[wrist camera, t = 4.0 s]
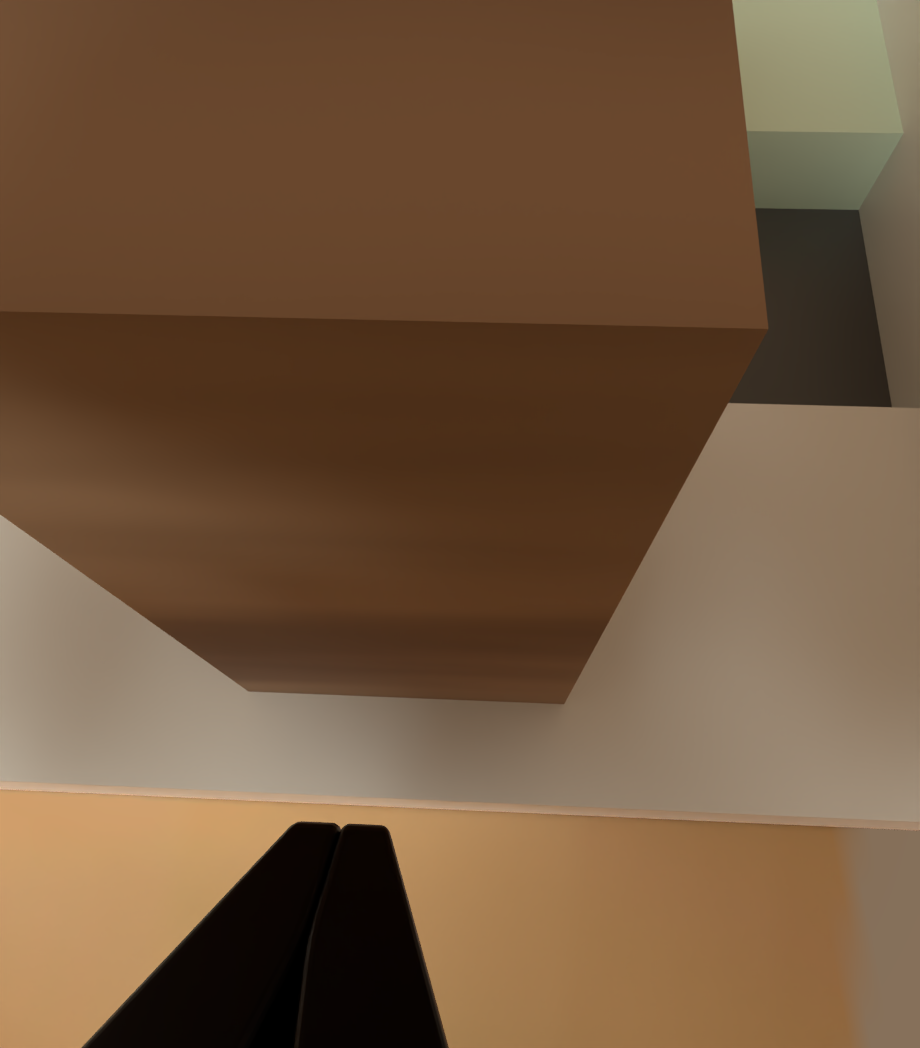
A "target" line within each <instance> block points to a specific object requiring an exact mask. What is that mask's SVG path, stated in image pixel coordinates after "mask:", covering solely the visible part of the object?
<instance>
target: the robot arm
mask: <svg viewBox="0 0 920 1048" xmlns="http://www.w3.org/2000/svg"><path fill="white" fill-rule="evenodd" d="M82 1048H449V1047H448V1044H447V1040H446V1036H445V1033H444V1029H443V1025H442V1022H441V1018H440V1014H439V1011H438V1007H437V1003H436V1000H435V996H434V992H433V989H432V985H431V981H430V978H429V974H428V970H427V967H426V963H425V959H424V956H423V952H422V948H421V945H420V941H419V938H418V934H417V930H416V927H415V923H414V919H413V916H412V912H411V908H410V905H409V901H408V897H407V894H406V890H405V886H404V883H403V879H402V875H401V872H400V868H399V864H398V861H397V857H396V853H395V850H394V846H393V842H392V839H391V835H390V832H389V830H388V829H387V828H386V827H385V826H382V825H365V824H347V825H345V826H344V827H343V828H342V829H341V828H340V827H339V826H338V825H337V824H335V823H322V822H297V823H295V824H293V825H292V826H290V827H289V828H288V829H287V830H286V831H285V832H284V834H283V835H282V836H281V837H280V838H279V839H278V840H277V841H276V842H275V843H274V844H273V845H272V846H271V847H270V848H269V849H268V851H267V852H266V853H265V854H264V855H263V856H262V857H261V858H260V859H259V860H258V861H257V862H256V863H255V864H254V865H253V866H252V867H251V869H250V870H249V871H248V872H247V873H246V874H245V875H244V876H243V877H242V878H241V879H240V880H239V881H238V882H237V883H236V884H235V886H234V887H233V888H232V889H231V890H230V891H229V892H228V893H227V894H226V895H225V896H224V897H223V898H222V899H221V900H220V901H219V903H218V904H217V905H216V906H215V907H214V908H213V909H212V910H211V911H210V912H209V913H208V914H207V915H206V916H205V917H204V918H203V919H202V921H201V922H200V923H199V924H198V925H197V926H196V927H195V928H194V929H193V930H192V931H191V932H190V933H189V934H188V935H187V936H186V938H185V939H184V940H183V941H182V942H181V943H180V944H179V945H178V946H177V947H176V948H175V949H174V950H173V951H172V952H171V953H170V954H169V956H168V957H167V958H166V959H165V960H164V961H163V962H162V963H161V964H160V965H159V966H158V967H157V968H156V969H155V970H154V971H153V973H152V974H151V975H150V976H149V977H148V978H147V979H146V980H145V981H144V982H143V983H142V984H141V985H140V986H139V987H138V988H137V989H136V991H135V992H134V993H133V994H132V995H131V996H130V997H129V998H128V999H127V1000H126V1001H125V1002H124V1003H123V1004H122V1005H121V1006H120V1008H119V1009H118V1010H117V1011H116V1012H115V1013H114V1014H113V1015H112V1016H111V1017H110V1018H109V1019H108V1020H107V1021H106V1022H105V1023H104V1024H103V1026H102V1027H101V1028H100V1029H99V1030H98V1031H97V1032H96V1033H95V1034H94V1035H93V1036H92V1037H91V1038H90V1039H89V1040H88V1041H87V1043H86V1044H85V1045H84V1046H83V1047H82Z"/></svg>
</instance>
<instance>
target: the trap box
mask: <svg viewBox="0 0 920 1048" xmlns="http://www.w3.org/2000/svg"><path fill="white" fill-rule="evenodd" d="M732 3H733V12H734V21H735V30H736V39H737V48H738V58H739V67H740V76H741V85H742V94H743V103H744V112H745V121H746V130H747V139H748V148H749V157H750V166H751V175H752V184H753V193H754V202H755V211H756V220H757V230H758V239H759V248H760V257H761V266H762V275H763V284H764V293H765V302H766V311H767V320H768V331H767V333H766V334H765V336H764V338H763V340H762V342H761V344H760V345H759V347H758V349H757V351H756V353H755V355H754V356H753V358H752V360H751V362H750V364H749V366H748V367H747V369H746V371H745V373H744V375H743V377H742V378H741V380H740V382H739V384H738V386H737V388H736V389H735V391H734V393H733V395H732V397H731V399H730V401H729V402H728V404H727V406H726V408H725V410H724V412H723V413H722V415H721V417H720V419H719V421H718V423H717V424H716V426H715V428H714V430H713V432H712V434H711V435H710V437H709V439H708V441H707V443H706V445H705V446H704V448H703V450H702V452H701V454H700V456H699V457H698V459H697V461H696V463H695V465H694V467H693V468H692V470H691V472H690V474H689V476H688V478H687V479H686V481H685V483H684V485H683V487H682V489H681V490H680V492H679V494H678V496H677V498H676V500H675V501H674V503H673V505H672V507H671V509H670V511H669V513H668V514H667V516H666V518H665V520H664V522H663V524H662V525H661V527H660V529H659V531H658V533H657V535H656V536H655V538H654V540H653V542H652V544H651V546H650V547H649V549H648V551H647V553H646V555H645V557H644V558H643V560H642V562H641V564H640V566H639V568H638V569H637V571H636V573H635V575H634V577H633V579H632V580H631V582H630V584H629V586H628V588H627V590H626V591H625V593H624V595H623V597H622V599H621V601H620V602H619V604H618V606H617V608H616V610H615V612H614V613H613V615H612V617H611V619H610V621H609V623H608V624H607V626H606V628H605V630H604V632H603V634H602V636H601V637H600V639H599V641H598V643H597V645H596V647H595V648H594V650H593V652H592V654H591V656H590V658H589V659H588V661H587V663H586V665H585V667H584V669H583V670H582V672H581V674H580V676H579V678H578V680H577V681H576V683H575V685H574V687H573V689H572V691H571V692H570V694H569V696H568V698H567V700H566V702H565V703H564V704H547V703H522V702H497V701H472V700H447V699H422V698H397V697H372V696H347V695H322V694H297V693H273V692H248V691H247V690H246V689H244V688H243V687H241V686H240V685H239V684H237V683H236V682H234V681H233V680H232V679H230V678H229V677H227V676H226V675H225V674H223V673H222V672H220V671H219V670H218V669H216V668H215V667H213V666H212V665H211V664H209V663H208V662H206V661H205V660H204V659H202V658H201V657H199V656H198V655H196V654H195V653H194V652H192V651H191V650H189V649H188V648H187V647H185V646H184V645H182V644H181V643H180V642H178V641H177V640H175V639H174V638H173V637H171V636H170V635H168V634H167V633H166V632H164V631H163V630H161V629H160V628H159V627H157V626H156V625H154V624H153V623H152V622H150V621H149V620H147V619H146V618H145V617H143V616H142V615H140V614H139V613H138V612H136V611H135V610H133V609H132V608H131V607H129V606H128V605H126V604H125V603H124V602H122V601H121V600H119V599H118V598H117V597H115V596H114V595H112V594H111V593H110V592H108V591H107V590H105V589H104V588H102V587H101V586H100V585H98V584H97V583H95V582H94V581H93V580H91V579H90V578H88V577H87V576H86V575H84V574H83V573H81V572H80V571H79V570H77V569H76V568H74V567H73V566H72V565H70V564H69V563H67V562H66V561H65V560H63V559H62V558H60V557H59V556H58V555H56V554H55V553H53V552H52V551H51V550H49V549H48V548H46V547H45V546H44V545H42V544H41V543H39V542H38V541H37V540H35V539H34V538H32V537H31V536H30V535H28V534H27V533H25V532H24V531H23V530H21V529H20V528H18V527H17V526H16V525H14V524H13V523H11V522H10V521H9V520H7V519H6V518H4V517H3V516H1V515H0V789H7V790H29V791H51V792H73V793H95V794H118V795H140V796H162V797H184V798H206V799H229V800H251V801H273V802H295V803H317V804H340V805H362V806H384V807H406V808H428V809H450V810H473V811H495V812H517V813H539V814H561V815H584V816H606V817H628V818H650V819H672V820H695V821H717V822H739V823H761V824H783V825H806V826H828V827H850V828H874V829H894V830H895V829H896V830H916V831H918V830H919V831H920V0H732Z"/></svg>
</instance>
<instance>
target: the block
mask: <svg viewBox="0 0 920 1048" xmlns="http://www.w3.org/2000/svg"><path fill="white" fill-rule="evenodd" d="M767 331H768V320H767V311H766V302H765V293H764V284H763V275H762V266H761V257H760V248H759V239H758V230H757V220H756V211H755V202H754V193H753V184H752V175H751V166H750V157H749V148H748V139H747V130H746V121H745V112H744V103H743V94H742V85H741V76H740V67H739V58H738V48H737V39H736V30H735V21H734V12H733V3H732V0H0V515H1V516H3V517H4V518H6V519H7V520H9V521H10V522H11V523H13V524H14V525H16V526H17V527H18V528H20V529H21V530H23V531H24V532H25V533H27V534H28V535H30V536H31V537H32V538H34V539H35V540H37V541H38V542H39V543H41V544H42V545H44V546H45V547H46V548H48V549H49V550H51V551H52V552H53V553H55V554H56V555H58V556H59V557H60V558H62V559H63V560H65V561H66V562H67V563H69V564H70V565H72V566H73V567H74V568H76V569H77V570H79V571H80V572H81V573H83V574H84V575H86V576H87V577H88V578H90V579H91V580H93V581H94V582H95V583H97V584H98V585H100V586H101V587H102V588H104V589H105V590H107V591H108V592H110V593H111V594H112V595H114V596H115V597H117V598H118V599H119V600H121V601H122V602H124V603H125V604H126V605H128V606H129V607H131V608H132V609H133V610H135V611H136V612H138V613H139V614H140V615H142V616H143V617H145V618H146V619H147V620H149V621H150V622H152V623H153V624H154V625H156V626H157V627H159V628H160V629H161V630H163V631H164V632H166V633H167V634H168V635H170V636H171V637H173V638H174V639H175V640H177V641H178V642H180V643H181V644H182V645H184V646H185V647H187V648H188V649H189V650H191V651H192V652H194V653H195V654H196V655H198V656H199V657H201V658H202V659H204V660H205V661H206V662H208V663H209V664H211V665H212V666H213V667H215V668H216V669H218V670H219V671H220V672H222V673H223V674H225V675H226V676H227V677H229V678H230V679H232V680H233V681H234V682H236V683H237V684H239V685H240V686H241V687H243V688H244V689H246V690H247V691H248V692H273V693H297V694H322V695H347V696H372V697H397V698H422V699H447V700H472V701H497V702H522V703H547V704H564V703H565V702H566V700H567V698H568V696H569V694H570V692H571V691H572V689H573V687H574V685H575V683H576V681H577V680H578V678H579V676H580V674H581V672H582V670H583V669H584V667H585V665H586V663H587V661H588V659H589V658H590V656H591V654H592V652H593V650H594V648H595V647H596V645H597V643H598V641H599V639H600V637H601V636H602V634H603V632H604V630H605V628H606V626H607V624H608V623H609V621H610V619H611V617H612V615H613V613H614V612H615V610H616V608H617V606H618V604H619V602H620V601H621V599H622V597H623V595H624V593H625V591H626V590H627V588H628V586H629V584H630V582H631V580H632V579H633V577H634V575H635V573H636V571H637V569H638V568H639V566H640V564H641V562H642V560H643V558H644V557H645V555H646V553H647V551H648V549H649V547H650V546H651V544H652V542H653V540H654V538H655V536H656V535H657V533H658V531H659V529H660V527H661V525H662V524H663V522H664V520H665V518H666V516H667V514H668V513H669V511H670V509H671V507H672V505H673V503H674V501H675V500H676V498H677V496H678V494H679V492H680V490H681V489H682V487H683V485H684V483H685V481H686V479H687V478H688V476H689V474H690V472H691V470H692V468H693V467H694V465H695V463H696V461H697V459H698V457H699V456H700V454H701V452H702V450H703V448H704V446H705V445H706V443H707V441H708V439H709V437H710V435H711V434H712V432H713V430H714V428H715V426H716V424H717V423H718V421H719V419H720V417H721V415H722V413H723V412H724V410H725V408H726V406H727V404H728V402H729V401H730V399H731V397H732V395H733V393H734V391H735V389H736V388H737V386H738V384H739V382H740V380H741V378H742V377H743V375H744V373H745V371H746V369H747V367H748V366H749V364H750V362H751V360H752V358H753V356H754V355H755V353H756V351H757V349H758V347H759V345H760V344H761V342H762V340H763V338H764V336H765V334H766V333H767Z"/></svg>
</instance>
